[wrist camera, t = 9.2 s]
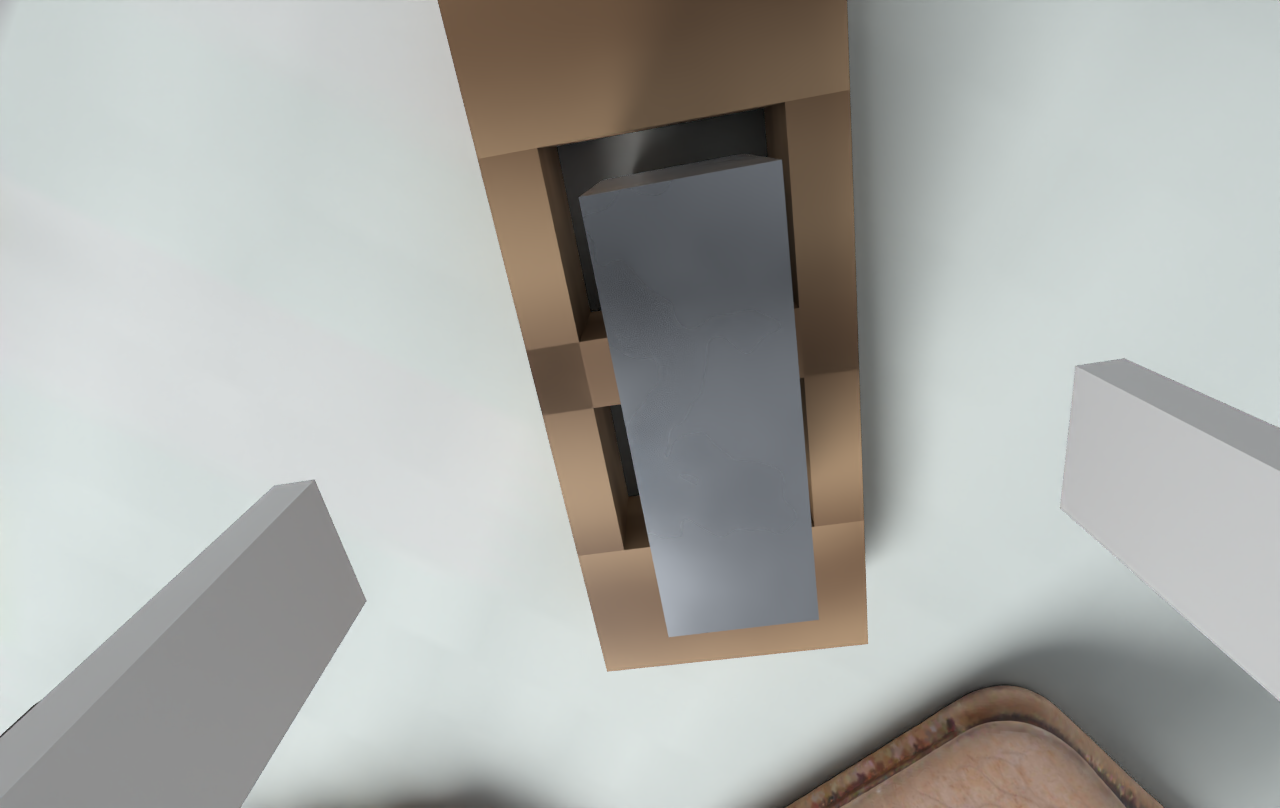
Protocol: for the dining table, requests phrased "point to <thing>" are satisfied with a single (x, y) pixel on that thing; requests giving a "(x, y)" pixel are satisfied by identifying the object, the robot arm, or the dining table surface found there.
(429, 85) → the dining table surface
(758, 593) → the grey bridge block
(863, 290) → the dining table surface
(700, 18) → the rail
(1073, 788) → the case
